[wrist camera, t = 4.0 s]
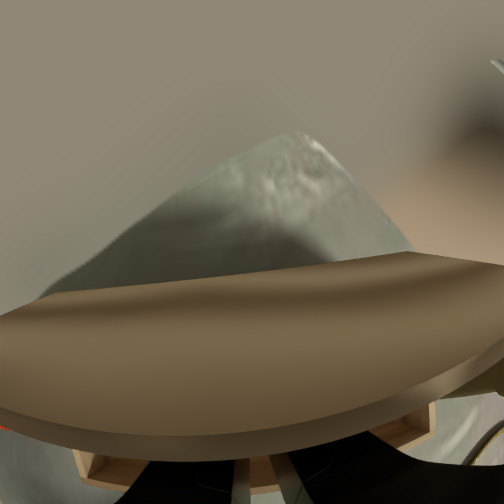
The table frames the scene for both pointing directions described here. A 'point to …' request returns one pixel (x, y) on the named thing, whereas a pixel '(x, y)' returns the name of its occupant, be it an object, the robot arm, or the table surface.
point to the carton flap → (248, 356)
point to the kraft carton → (261, 471)
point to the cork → (482, 383)
